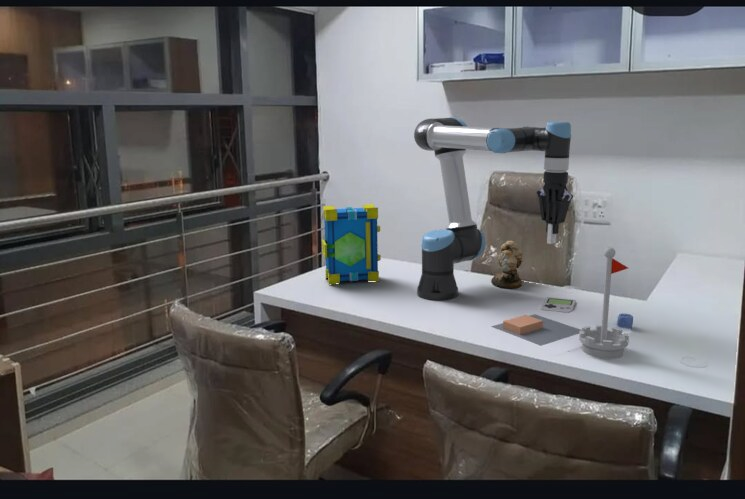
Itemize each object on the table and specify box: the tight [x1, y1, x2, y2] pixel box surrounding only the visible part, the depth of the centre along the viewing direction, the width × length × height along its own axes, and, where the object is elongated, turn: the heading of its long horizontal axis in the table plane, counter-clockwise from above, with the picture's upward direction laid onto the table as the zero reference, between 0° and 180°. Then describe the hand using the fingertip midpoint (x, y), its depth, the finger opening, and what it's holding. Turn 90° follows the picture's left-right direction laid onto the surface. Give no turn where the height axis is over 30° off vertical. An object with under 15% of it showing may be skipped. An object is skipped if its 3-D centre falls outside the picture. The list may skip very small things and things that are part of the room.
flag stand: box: [578, 247, 630, 360], centre depth 173 cm, size 13×13×30 cm
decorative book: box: [321, 203, 382, 285], centre depth 249 cm, size 14×23×30 cm, turn 100°
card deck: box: [502, 314, 543, 335], centre depth 194 cm, size 7×2×10 cm
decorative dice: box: [616, 313, 634, 330], centre depth 195 cm, size 4×4×4 cm
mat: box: [491, 313, 582, 347], centre depth 193 cm, size 20×20×1 cm
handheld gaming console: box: [540, 296, 577, 314], centre depth 216 cm, size 10×2×15 cm
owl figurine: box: [490, 240, 523, 290], centre depth 244 cm, size 18×12×17 cm, turn 175°
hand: (551, 243), depth 205 cm, fingers closed
